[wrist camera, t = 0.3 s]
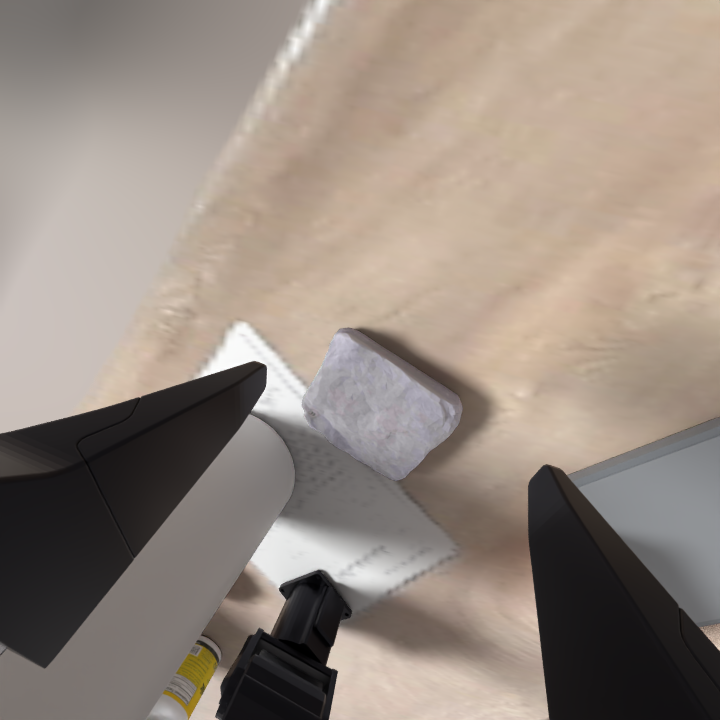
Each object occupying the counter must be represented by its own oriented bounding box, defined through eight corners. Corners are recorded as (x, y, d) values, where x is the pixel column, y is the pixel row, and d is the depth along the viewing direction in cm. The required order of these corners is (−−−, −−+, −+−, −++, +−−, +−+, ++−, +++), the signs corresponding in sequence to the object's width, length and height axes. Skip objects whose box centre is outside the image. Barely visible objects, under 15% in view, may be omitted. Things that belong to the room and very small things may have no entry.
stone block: (410, 460, 30) (473, 391, 24) (398, 499, 25) (470, 425, 20) (311, 393, 31) (351, 313, 25) (284, 420, 27) (325, 331, 21)
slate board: (657, 623, 26) (665, 635, 25) (560, 477, 24) (565, 485, 24) (882, 578, 21) (901, 591, 20) (776, 394, 20) (791, 400, 19)
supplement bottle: (212, 666, 44) (153, 770, 35) (184, 642, 44) (117, 739, 35) (229, 653, 42) (172, 759, 33) (200, 627, 42) (134, 726, 33)
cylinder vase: (174, 446, 34) (-414, 829, 10) (239, 383, 29) (-520, 799, 6) (248, 527, 34) (-149, 1061, 11) (322, 477, 30) (-72, 1182, 7)
